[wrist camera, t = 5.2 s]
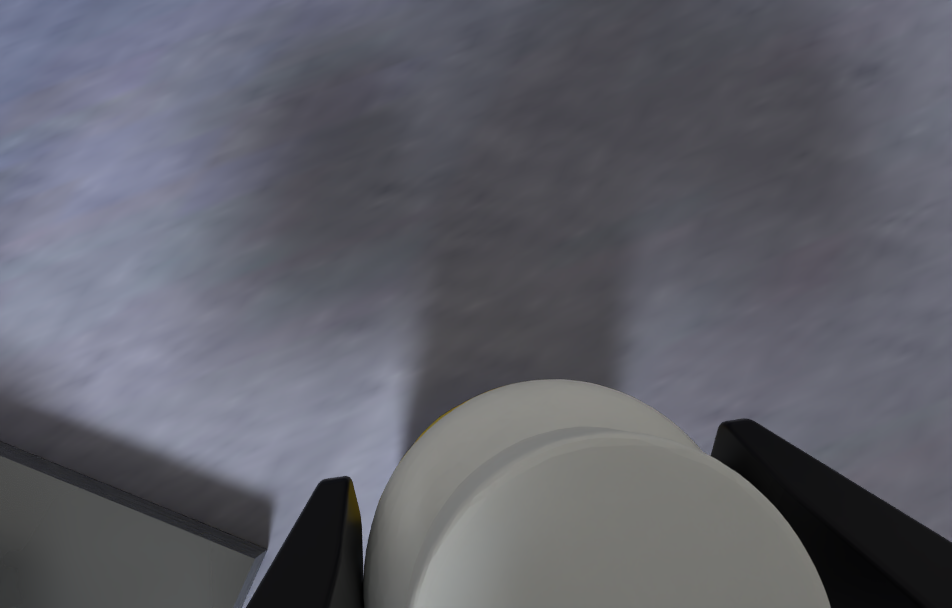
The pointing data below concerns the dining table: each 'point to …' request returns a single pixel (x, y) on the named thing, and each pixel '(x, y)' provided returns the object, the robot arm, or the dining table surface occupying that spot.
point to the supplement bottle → (576, 513)
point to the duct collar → (108, 546)
